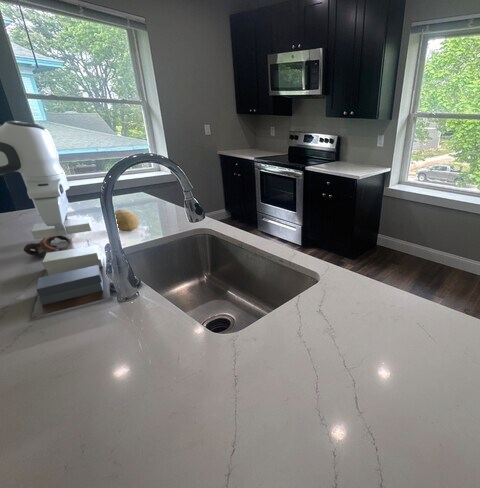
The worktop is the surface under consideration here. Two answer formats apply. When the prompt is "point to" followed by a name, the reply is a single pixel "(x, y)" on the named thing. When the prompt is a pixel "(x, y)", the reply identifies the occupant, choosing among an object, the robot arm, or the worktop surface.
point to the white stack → (72, 259)
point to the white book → (71, 226)
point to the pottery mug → (46, 246)
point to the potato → (126, 220)
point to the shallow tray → (74, 301)
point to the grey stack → (69, 284)
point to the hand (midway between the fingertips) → (64, 229)
